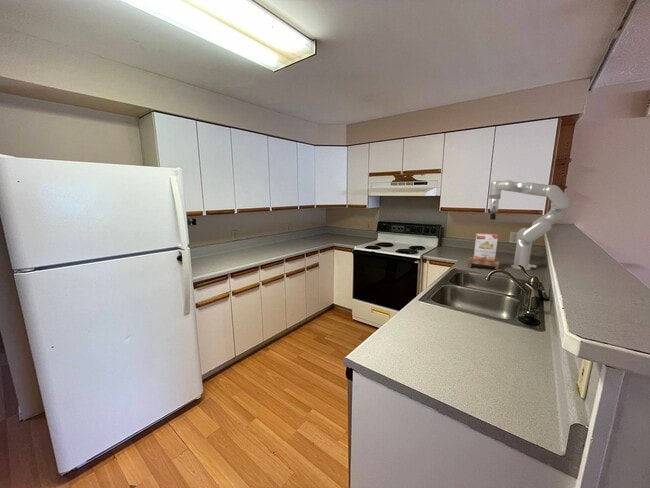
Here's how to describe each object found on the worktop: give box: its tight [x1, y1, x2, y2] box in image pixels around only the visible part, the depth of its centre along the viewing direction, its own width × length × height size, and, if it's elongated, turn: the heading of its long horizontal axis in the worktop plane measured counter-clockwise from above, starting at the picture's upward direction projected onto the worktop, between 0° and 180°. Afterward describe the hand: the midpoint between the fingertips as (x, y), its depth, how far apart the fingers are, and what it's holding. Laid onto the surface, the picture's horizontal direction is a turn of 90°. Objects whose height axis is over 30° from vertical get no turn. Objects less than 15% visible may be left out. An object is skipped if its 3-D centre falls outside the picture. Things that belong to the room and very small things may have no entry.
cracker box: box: [473, 232, 499, 262], centre depth 206 cm, size 14×6×21 cm, turn 68°
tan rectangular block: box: [467, 256, 500, 270], centre depth 209 cm, size 20×14×6 cm
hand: (492, 219), depth 211 cm, fingers open, 9 cm apart
